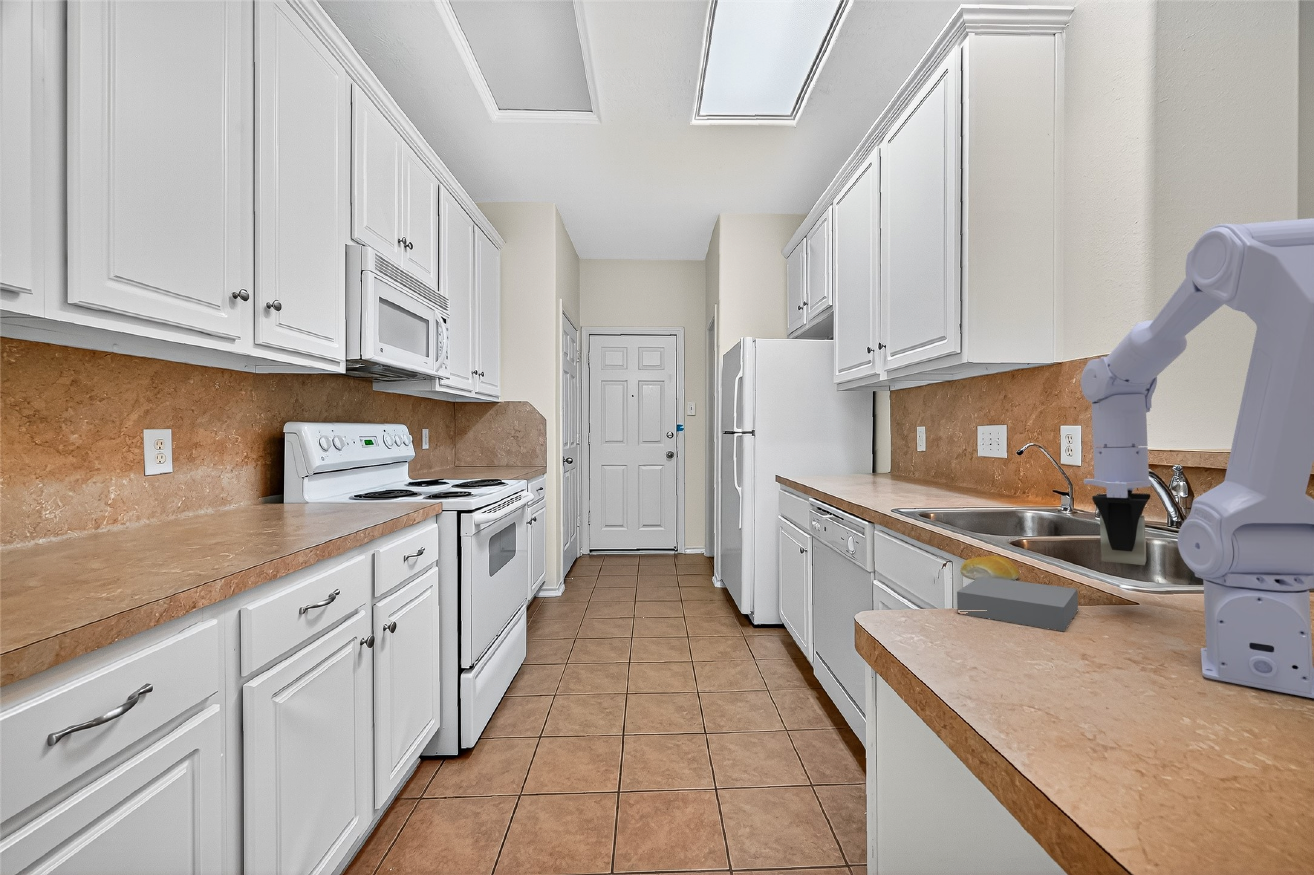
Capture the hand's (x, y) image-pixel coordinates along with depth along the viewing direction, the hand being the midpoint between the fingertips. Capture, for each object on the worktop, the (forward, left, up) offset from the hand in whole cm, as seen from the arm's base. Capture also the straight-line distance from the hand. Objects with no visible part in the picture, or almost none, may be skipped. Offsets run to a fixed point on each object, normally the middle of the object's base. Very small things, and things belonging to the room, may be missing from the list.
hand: (1123, 547), depth 75 cm
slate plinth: (-8, +11, -9) cm, 16 cm away
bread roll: (+13, +19, -9) cm, 25 cm away
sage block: (0, 0, -2) cm, 2 cm away
